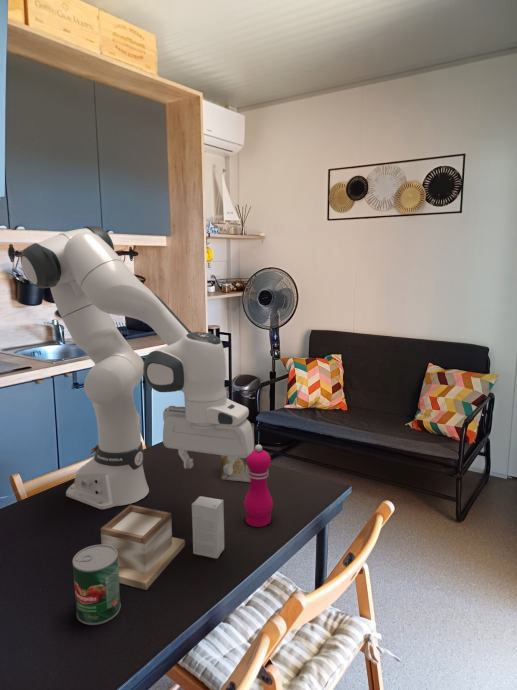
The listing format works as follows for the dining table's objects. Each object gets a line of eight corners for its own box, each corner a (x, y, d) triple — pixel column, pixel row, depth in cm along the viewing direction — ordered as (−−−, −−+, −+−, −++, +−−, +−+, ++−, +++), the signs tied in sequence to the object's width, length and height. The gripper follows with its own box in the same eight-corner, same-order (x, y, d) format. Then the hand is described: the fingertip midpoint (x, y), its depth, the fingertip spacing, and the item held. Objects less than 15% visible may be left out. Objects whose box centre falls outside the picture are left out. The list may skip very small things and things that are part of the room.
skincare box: (224, 548, 112) (224, 499, 109) (217, 559, 108) (216, 508, 106) (200, 543, 114) (199, 495, 111) (192, 554, 110) (191, 504, 107)
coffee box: (255, 473, 150) (255, 422, 147) (250, 482, 143) (250, 430, 140) (226, 470, 152) (226, 420, 149) (220, 479, 146) (219, 427, 143)
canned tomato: (123, 593, 97) (120, 542, 95) (117, 623, 89) (114, 568, 87) (81, 597, 96) (78, 545, 94) (71, 627, 88) (67, 571, 86)
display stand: (87, 574, 103) (85, 533, 101) (132, 533, 117) (130, 497, 116) (146, 590, 98) (144, 547, 96) (184, 545, 113) (183, 508, 111)
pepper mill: (269, 529, 119) (270, 451, 116) (240, 526, 121) (240, 449, 117) (274, 514, 126) (275, 440, 123) (247, 511, 128) (247, 438, 124)
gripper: (155, 409, 105) (158, 470, 108) (244, 418, 98) (246, 483, 101) (170, 400, 111) (173, 458, 113) (255, 409, 104) (256, 470, 106)
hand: (208, 470), depth 107 cm, fingers open, 8 cm apart
